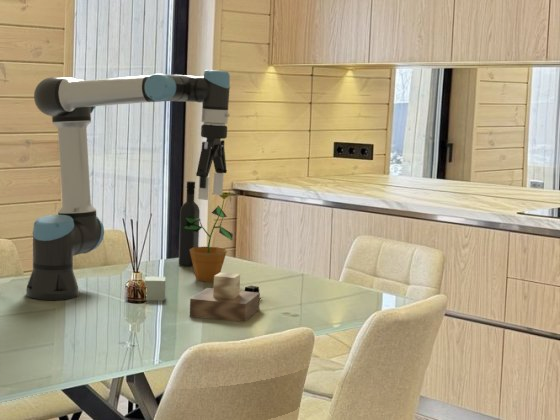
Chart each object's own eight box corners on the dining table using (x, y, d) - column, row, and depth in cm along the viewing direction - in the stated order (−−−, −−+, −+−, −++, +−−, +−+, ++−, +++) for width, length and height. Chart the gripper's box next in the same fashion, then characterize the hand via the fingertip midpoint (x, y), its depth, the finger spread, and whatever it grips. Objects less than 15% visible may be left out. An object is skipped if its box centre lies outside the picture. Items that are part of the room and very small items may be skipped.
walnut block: (189, 316, 268) (190, 298, 268) (206, 304, 284) (207, 287, 283) (244, 321, 265) (245, 304, 264) (259, 309, 280) (259, 292, 280)
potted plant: (245, 279, 324) (248, 190, 320) (211, 287, 308) (215, 194, 305) (202, 271, 334) (205, 185, 330) (168, 279, 318) (171, 189, 314)
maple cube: (213, 296, 271) (213, 276, 271) (219, 292, 277) (220, 272, 276) (233, 298, 270) (234, 277, 269) (239, 294, 276) (240, 274, 275)
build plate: (250, 306, 286) (251, 291, 285) (229, 303, 289) (230, 288, 289) (271, 299, 296) (272, 285, 296) (251, 296, 300) (251, 282, 299)
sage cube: (144, 300, 286) (145, 280, 285) (144, 295, 292) (145, 276, 291) (164, 300, 287) (165, 280, 286) (164, 296, 293) (165, 276, 292)
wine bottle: (177, 265, 344) (180, 181, 340) (184, 262, 349) (187, 180, 345) (191, 266, 342) (194, 182, 338) (198, 264, 347) (201, 181, 343)
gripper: (213, 126, 264) (209, 202, 267) (239, 124, 289) (235, 194, 291) (187, 124, 266) (183, 200, 269) (215, 122, 290) (211, 191, 293)
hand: (210, 197), depth 280 cm, fingers open, 13 cm apart
